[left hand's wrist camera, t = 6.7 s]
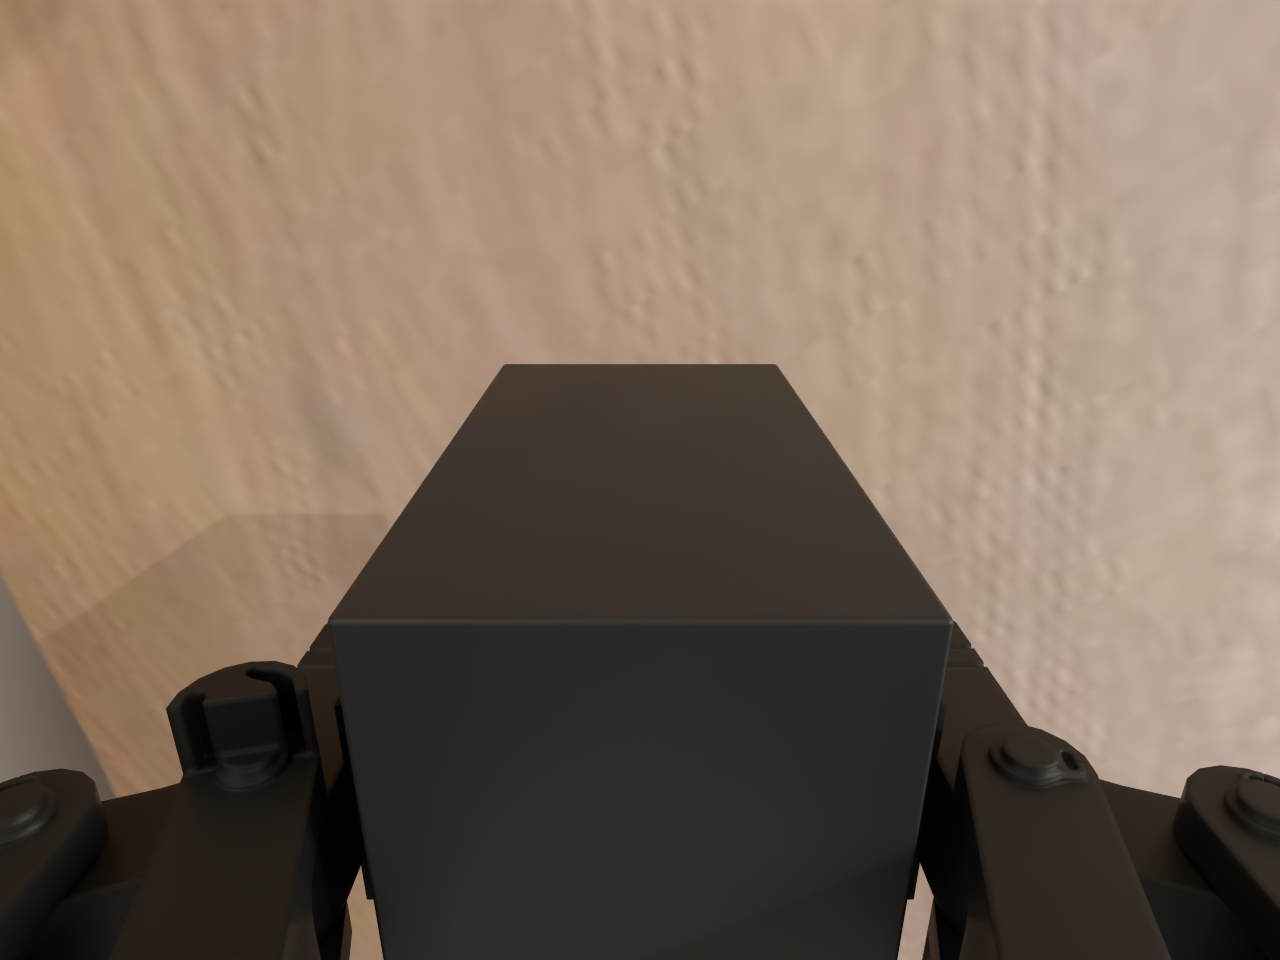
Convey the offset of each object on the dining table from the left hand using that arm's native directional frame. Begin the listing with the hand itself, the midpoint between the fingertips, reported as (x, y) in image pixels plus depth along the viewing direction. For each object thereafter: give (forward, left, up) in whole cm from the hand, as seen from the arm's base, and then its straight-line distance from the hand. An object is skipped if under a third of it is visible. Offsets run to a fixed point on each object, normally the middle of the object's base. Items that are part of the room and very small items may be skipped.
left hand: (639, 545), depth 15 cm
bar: (+10, 0, -1) cm, 10 cm away
